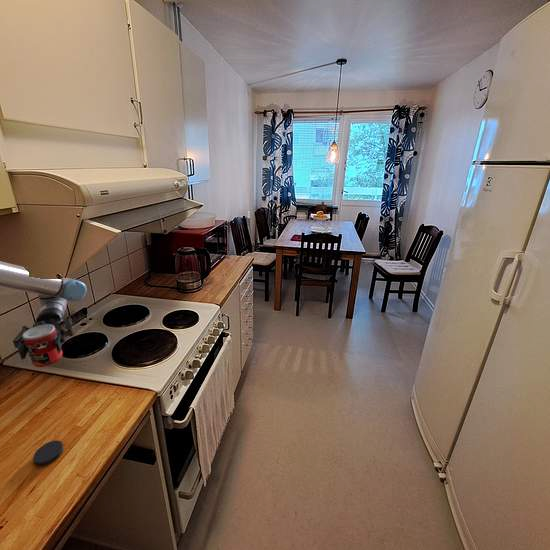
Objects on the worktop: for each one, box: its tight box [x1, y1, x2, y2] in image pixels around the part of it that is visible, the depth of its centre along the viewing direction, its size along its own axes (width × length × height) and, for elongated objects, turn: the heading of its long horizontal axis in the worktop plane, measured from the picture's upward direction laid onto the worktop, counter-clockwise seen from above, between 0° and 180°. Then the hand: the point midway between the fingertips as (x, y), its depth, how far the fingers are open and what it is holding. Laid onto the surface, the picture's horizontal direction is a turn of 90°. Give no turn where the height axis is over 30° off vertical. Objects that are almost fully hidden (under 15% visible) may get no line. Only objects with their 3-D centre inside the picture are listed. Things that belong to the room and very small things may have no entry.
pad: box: [32, 440, 65, 467], centre depth 73 cm, size 6×6×1 cm
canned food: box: [22, 324, 63, 368], centre depth 90 cm, size 8×8×11 cm
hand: (40, 350), depth 86 cm, fingers closed on canned food, 8 cm apart
